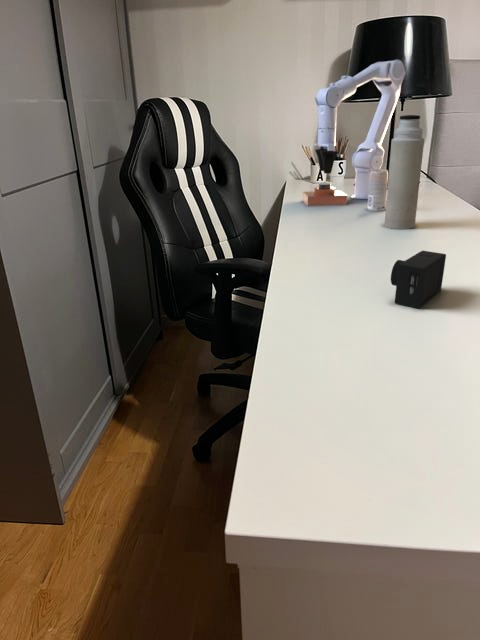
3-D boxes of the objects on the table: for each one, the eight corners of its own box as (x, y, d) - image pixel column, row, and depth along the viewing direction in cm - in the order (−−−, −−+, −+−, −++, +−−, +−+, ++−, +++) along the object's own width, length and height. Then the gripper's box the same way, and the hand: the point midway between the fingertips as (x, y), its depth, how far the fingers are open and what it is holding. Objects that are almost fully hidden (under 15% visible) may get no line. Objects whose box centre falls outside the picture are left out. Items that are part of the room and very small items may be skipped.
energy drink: (383, 208, 160) (386, 169, 155) (386, 211, 155) (389, 171, 150) (366, 208, 160) (369, 169, 155) (368, 211, 155) (371, 171, 151)
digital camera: (411, 285, 92) (415, 248, 90) (441, 291, 89) (446, 253, 86) (387, 302, 85) (391, 262, 82) (418, 309, 82) (424, 268, 79)
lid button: (329, 188, 171) (329, 182, 170) (331, 189, 167) (332, 184, 166) (317, 188, 170) (317, 183, 170) (320, 190, 167) (320, 184, 166)
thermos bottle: (413, 222, 139) (424, 114, 128) (416, 229, 132) (429, 115, 121) (383, 222, 141) (392, 115, 130) (385, 228, 134) (395, 115, 123)
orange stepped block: (339, 199, 175) (340, 185, 173) (346, 204, 166) (347, 189, 164) (302, 201, 175) (303, 186, 173) (307, 206, 166) (308, 191, 164)
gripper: (310, 127, 168) (309, 169, 173) (319, 129, 154) (317, 175, 160) (331, 127, 168) (329, 169, 173) (341, 129, 155) (339, 174, 160)
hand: (325, 172), depth 166 cm, fingers open, 6 cm apart
